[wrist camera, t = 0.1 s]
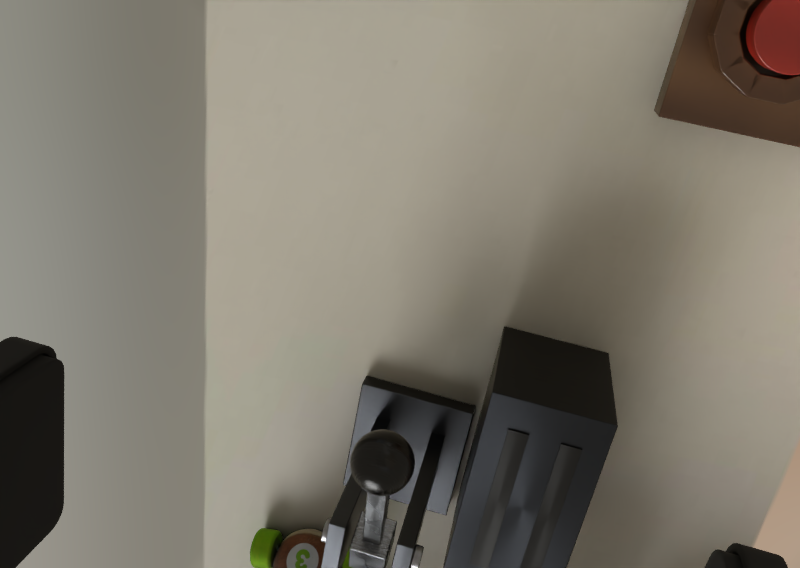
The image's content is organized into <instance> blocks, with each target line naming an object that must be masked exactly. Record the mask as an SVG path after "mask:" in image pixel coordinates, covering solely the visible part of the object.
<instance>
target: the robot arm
mask: <svg viewBox="0 0 800 568" xmlns="http://www.w3.org/2000/svg"><path fill="white" fill-rule="evenodd" d="M63 504H64V365H63V363H62V362H61V361H60V360H58V359H57V358H56V353H55V351H54V349H52V348H51V347H49V346H46V345H42V344H39V343H36V342H32V341H29V340H25V339H22V338H18V337H9V338H7V339H5V340H3V341H1V342H0V568H16V567H17V566H18V564H19V563H20V562H21V561H22V560H23V559H24V558H25V557H26V556H27V555H28V554H29V553H30V552H31V551H32V550H33V549H34V548H35V547H36V546H37V545H38V544H39V543H40V542H41V541H42V540H43V539H44V538H45V537H46V536H47V535H48V534H49V533H50V532H51V530H52V529H53V528H54V527H55V525H56V524H57V522H58V520H59V518H60V516H61V513H62V510H63ZM705 568H788V567H787V565H786V562H785V561H784V559H783V558H782V557H781V556H779V555H777V554H773V553H769V552H766V551H762V550H759V549H756V548H752V547H749V546H745V545H742V544H738V543H734V544H732V545H730V546H729V547H728V549H727V550H726V552H725V551H721V550H715V551H714V552H713V553H712V554H711V556H710V557H709V560H708V562H707V564H706V566H705Z"/></svg>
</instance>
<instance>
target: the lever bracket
mask: <svg viewBox="0 0 800 568" xmlns="http://www.w3.org/2000/svg"><path fill="white" fill-rule="evenodd" d="M474 409H475V406H474V405H471V404H467V403H463V402H460V401H456V400H452V399H449V398H445V397H441V396H438V395H434V394H431V393H427V392H423V391H420V390H416V389H412V388H409V387H405V386H401V385H398V384H394V383H391V382H387V381H383V380H380V379H376V378H372V377H369V376H366V378H365V380H364V382H363V384H362V388H361V394H360V399H359V404H358V409H357V414H356V420H355V425H354V430H353V435H352V441H351V446H350V451H349V456H348V461H347V467H346V472H345V477H344V482H343V485H345V486H346V487H345V489H344V491H343V494H342V496H341V498H340V500H339V502H338V505H337V507H336V509H335V511H334V513H333V516H332V518H328V519H327V520H326V523H325V525H324V528H323V532H322V536H321V541H322V542H325V548H324V553H323V558H322V564H321V568H341V567H342V565H343V562H344V560H345V557H346V555H347V552H348V550H349V547H350V545H351V542H352V539H353V536H354V533H355V529H356V526H357V523H358V520H359V517H360V514H361V512H362V511H364V509H365V507H366V497H367V492H366V491H364V490H363V489H362V488H361V487H360V486H359V485H358V484H357V483H356V481H355V479H354V477H353V475H352V472H351V468H350V458H351V453H352V450H353V448H354V446H355V445H356V443H357V442H358V441H359V439H360V438H361V437H363V436H364V435H365V434H367V433H369V432H371V431H374V430H379V429H386V430H391V431H394V432H397V433H398V434H400V435H401V436H403V437H404V438H405V439H406V440H407V441H408V443H409V444H410V446H411V448H412V450H413V453H414V457H415V468H414V472H413V475H412V477H411V479H410V481H409V482H408V484H407V485H406V486H405V487H404V488H403V489H402V490H400V491H399V492H397V493H395V494H392V495H390V498H389V499H392V500H395V501H399V502H402V503H406V504H409V506H408V510H407V513H406V516H405V519H404V523H403V526H402V529H401V532H400V536H399V539H398V542H397V546H396V550H395V554H394V558H393V563H392V567H391V568H419V565H420V561H421V557H422V553H423V549H424V547H423V546H420V545H417V541H418V538H419V534H420V530H421V527H422V523H423V519H424V516H425V512H426V510H429V511H433V512H436V513H439V514H443V515H447V511H448V507H449V503H450V500H451V496H452V492H453V488H454V485H455V481H456V477H457V473H458V470H459V466H460V462H461V458H462V455H463V451H464V447H465V444H466V440H467V436H468V432H469V429H470V425H471V421H472V417H473V413H474Z"/></svg>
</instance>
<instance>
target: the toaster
mask: <svg viewBox="0 0 800 568" xmlns="http://www.w3.org/2000/svg"><path fill="white" fill-rule="evenodd" d="M617 427H618V425H617V417H616V409H615V401H614V393H613V385H612V377H611V369H610V361H609V354H608V353H605V352H602V351H598V350H594V349H590V348H586V347H582V346H578V345H575V344H571V343H567V342H563V341H559V340H555V339H552V338H548V337H544V336H540V335H536V334H532V333H528V332H525V331H521V330H517V329H513V328H509V327H504V329H503V333H502V336H501V340H500V344H499V348H498V351H497V355H496V359H495V362H494V366H493V370H492V373H491V377H490V381H489V384H488V388H487V392H486V395H485V399H484V403H483V406H482V410H481V414H480V417H479V421H478V425H477V429H476V432H475V436H474V440H473V443H472V447H471V451H470V454H469V458H468V462H467V465H466V469H465V473H464V476H463V480H462V484H461V487H460V491H459V496H458V500H457V505H456V510H455V514H454V519H453V524H452V528H451V533H450V538H449V542H448V547H447V552H446V556H445V561H444V566H443V568H566V567H567V565H568V562H569V559H570V556H571V554H572V551H573V548H574V545H575V543H576V540H577V537H578V534H579V532H580V529H581V526H582V523H583V521H584V518H585V515H586V512H587V510H588V507H589V504H590V501H591V499H592V496H593V493H594V490H595V488H596V485H597V482H598V479H599V477H600V474H601V471H602V468H603V465H604V463H605V460H606V457H607V454H608V452H609V449H610V446H611V443H612V441H613V438H614V435H615V432H616V430H617Z"/></svg>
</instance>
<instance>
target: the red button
mask: <svg viewBox="0 0 800 568" xmlns="http://www.w3.org/2000/svg"><path fill="white" fill-rule="evenodd" d="M746 44H747V47H748V50H749V53H750V54H751V56H752V58H753V59H754V60H755V61H756V62H757V63H758V64H759V65H761V66H762V67H764V68H766V69H768V70H771V71H774V72H777V73H781V74H785V75H799V74H800V0H763V1H762V2H761V3H760V4H759V5H758V6H757V7H756V9H755V10H754V11H753V13H752V15H751V17H750V19H749V22H748V25H747V29H746Z"/></svg>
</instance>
